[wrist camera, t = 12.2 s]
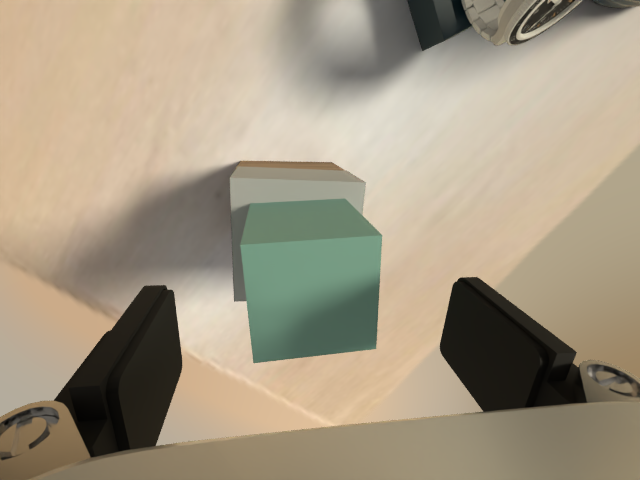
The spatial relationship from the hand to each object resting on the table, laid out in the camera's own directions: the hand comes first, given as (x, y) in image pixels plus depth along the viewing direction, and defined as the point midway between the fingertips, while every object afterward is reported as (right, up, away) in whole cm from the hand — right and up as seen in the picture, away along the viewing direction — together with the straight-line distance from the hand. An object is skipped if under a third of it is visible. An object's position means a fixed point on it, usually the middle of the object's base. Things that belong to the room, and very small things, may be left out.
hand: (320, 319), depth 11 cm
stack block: (-1, +2, +7) cm, 8 cm away
